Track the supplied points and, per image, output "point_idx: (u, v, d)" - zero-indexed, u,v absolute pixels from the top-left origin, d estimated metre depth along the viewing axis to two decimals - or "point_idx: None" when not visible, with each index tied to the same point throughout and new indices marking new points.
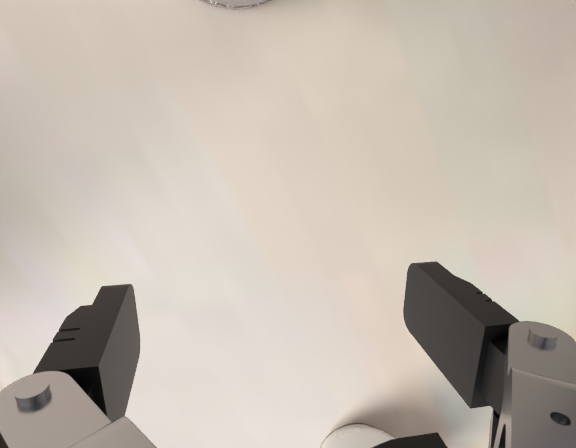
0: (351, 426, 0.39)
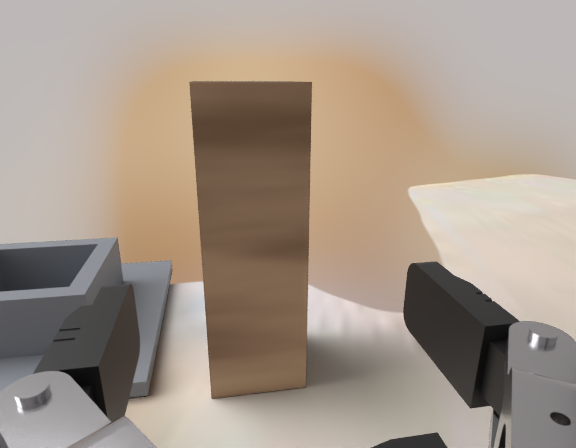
0: None
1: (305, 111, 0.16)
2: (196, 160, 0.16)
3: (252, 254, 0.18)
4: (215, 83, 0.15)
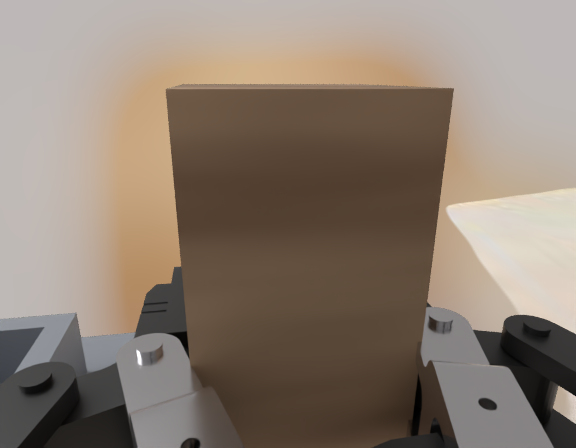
0: None
1: (432, 154, 0.07)
2: (185, 269, 0.07)
3: (301, 439, 0.09)
4: (230, 92, 0.06)
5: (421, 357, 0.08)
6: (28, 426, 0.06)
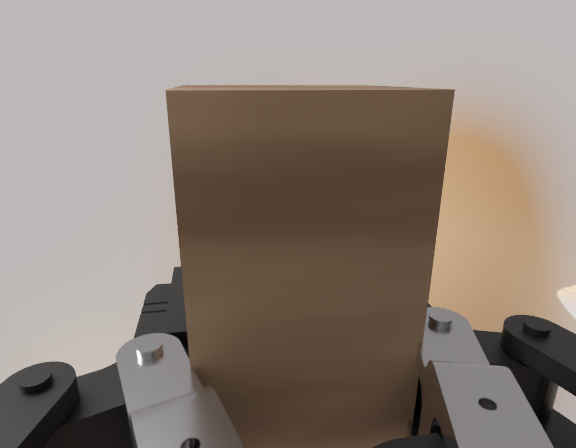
0: None
1: (433, 156, 0.07)
2: (185, 270, 0.07)
3: (302, 441, 0.09)
4: (230, 93, 0.06)
5: (421, 357, 0.08)
6: (28, 426, 0.06)
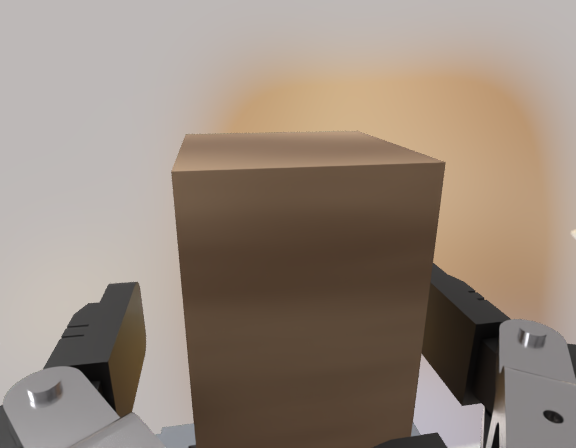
0: None
1: (425, 222, 0.07)
2: (189, 332, 0.07)
3: None
4: (232, 172, 0.07)
5: None
6: None
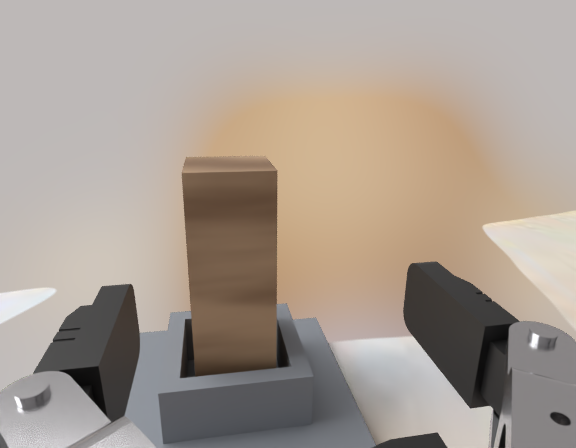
0: None
1: (272, 192, 0.21)
2: (186, 230, 0.21)
3: (231, 300, 0.22)
4: (201, 173, 0.20)
5: None
6: None
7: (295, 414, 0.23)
